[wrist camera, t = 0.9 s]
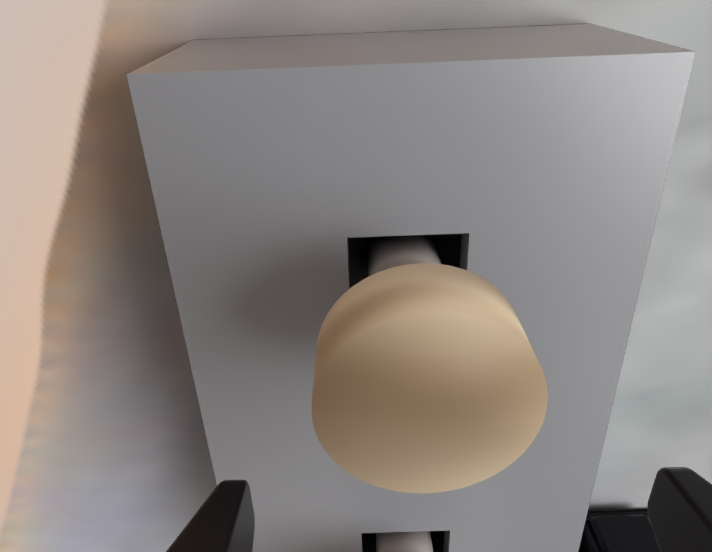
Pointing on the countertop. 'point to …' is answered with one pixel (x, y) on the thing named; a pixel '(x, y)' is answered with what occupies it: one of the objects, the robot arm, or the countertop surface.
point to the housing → (401, 218)
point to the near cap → (424, 374)
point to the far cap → (404, 542)
